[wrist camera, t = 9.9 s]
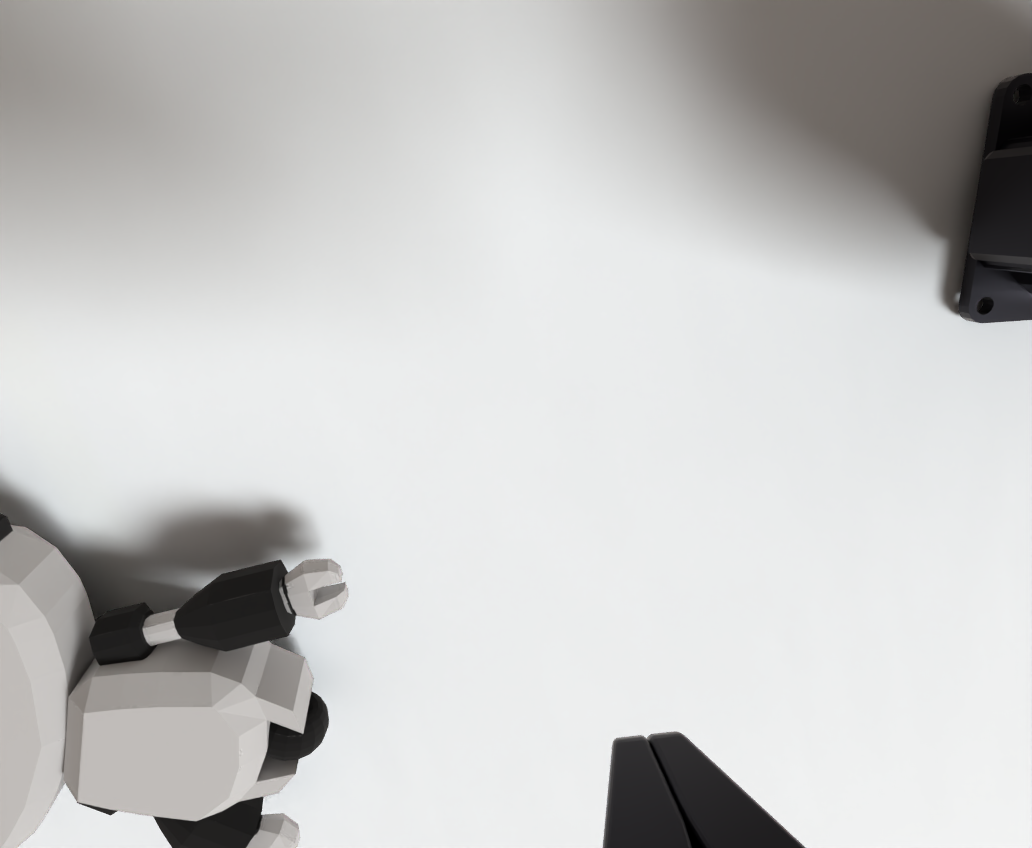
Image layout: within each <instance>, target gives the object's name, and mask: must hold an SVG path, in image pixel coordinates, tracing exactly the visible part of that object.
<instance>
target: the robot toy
mask: <svg viewBox="0 0 1032 848" xmlns="http://www.w3.org/2000/svg"><path fill="white" fill-rule="evenodd" d="M342 575H343V573H342V570H341V567H340V565H338V564H337V563H336V562H334V561H333V560H332V559H313V560H305V561H303V562H302V563H301V564H299V565H298V566H297V567H295V568H294V569H293V570H292V571H290V572H289V573H288V572H287V570H286V568H285V566H284V564H283V563H282V561H281V560H277V561H273V562H269V563H265V564H261V565H257V566H253V567H249V568H245V569H241V570H237V571H232V572H228V573H224V574H221V575H220V576H219V577H217V578H216V579H215V580H213V581H212V582H211V583H210V584H208V585H207V586H206V587H204V588H203V589H202V590H201V591H199V592H198V593H197V594H196V595H194V596H193V597H192V598H191V599H190V600H189V601H188V602H186V603H185V604H184V605H183V606H182V607H181V608H177V609H173V610H169V611H165V612H161V613H157V614H154V613H153V612H152V611H151V609H150V608H149V607H148V606H147V605H146V604H145V603H140V604H136V605H132V606H128V607H124V608H120V609H116V610H112V611H108V612H106V613H105V614H104V615H102V616H101V617H100V618H98V619H97V620H96V622H95V619H94V616H93V612H92V609H91V606H90V602H89V599H88V595H87V593H86V590H85V588H84V586H83V584H82V582H81V579H80V577H79V576H78V575H77V573H76V572H75V571H74V569H73V568H72V567H71V566H70V564H69V563H68V562H67V560H66V559H65V558H64V557H63V555H62V554H61V553H60V551H59V550H58V549H57V548H56V547H55V546H54V545H52V544H51V543H49V542H48V541H46V540H45V539H43V538H42V537H40V536H39V535H37V534H36V533H34V532H33V531H31V530H29V529H28V528H26V527H22V526H14V525H10V523H9V521H8V519H7V516H5V515H3V514H1V513H0V848H17V847H18V846H19V845H20V844H22V843H23V842H24V841H25V840H26V839H27V838H29V837H30V836H31V835H32V834H33V833H34V832H35V831H36V829H37V828H38V827H39V825H40V824H41V822H42V821H43V820H44V818H45V816H46V815H47V813H48V811H49V809H50V808H51V806H52V804H53V803H54V801H55V799H56V797H57V796H58V794H59V792H60V791H61V789H62V787H63V785H64V784H65V783H66V785H67V786H68V788H69V790H70V791H71V793H72V794H73V796H74V798H75V799H76V801H77V803H79V804H82V805H84V806H87V807H90V808H92V809H95V810H98V811H100V812H103V813H106V814H108V815H112V814H114V813H115V812H117V811H122V812H128V813H134V814H140V815H147V816H153V817H154V818H155V820H156V822H157V824H158V826H159V828H160V830H161V831H162V833H163V834H164V836H165V837H166V839H167V840H168V842H169V843H170V845H171V847H172V848H296V847H297V846H298V843H299V840H300V833H299V827H298V824H297V823H296V822H294V821H293V820H292V819H290V818H289V817H287V816H286V815H285V814H283V813H281V814H266V815H261V812H262V804H263V796H268V795H272V794H277V793H279V792H280V791H281V789H282V788H283V787H284V786H285V785H286V784H287V783H288V782H289V781H290V779H291V778H292V777H293V776H294V775H295V774H296V769H297V764H298V759H300V758H302V757H305V756H307V755H309V754H311V753H312V752H313V751H314V750H315V749H316V748H317V747H318V746H319V745H320V744H321V743H322V741H323V738H324V736H325V733H326V731H327V728H328V724H329V718H328V710H327V707H326V704H325V703H324V701H323V700H322V699H321V697H320V696H318V695H317V694H315V693H313V692H312V691H311V690H312V685H313V680H314V678H313V676H312V673H311V671H310V669H309V666H308V664H307V661H306V659H305V657H303V656H300V655H298V654H295V653H293V652H291V651H288V650H286V649H283V648H281V647H279V646H276V645H274V644H272V643H271V642H270V640H274V639H278V638H282V637H286V636H288V635H289V634H290V632H291V630H292V628H293V626H294V625H295V617H296V616H302V617H308V618H313V619H319V620H320V619H322V618H324V617H326V616H328V615H330V614H332V613H334V612H336V611H338V610H340V609H342V608H343V607H344V605H345V603H346V601H347V599H348V588H347V585H346V582H344V583H340V584H336V585H330V584H334V583H339V582H342ZM327 585H330V586H327ZM324 586H325V587H324Z"/></svg>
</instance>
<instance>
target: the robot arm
mask: <svg viewBox="0 0 1032 848" xmlns="http://www.w3.org/2000/svg"><path fill="white" fill-rule="evenodd" d="M1016 89H1017V90H1018V91H1019V99H1018V101H1017V103H1015V102H1014V100H1013V94H1014V92H1015V90H1016ZM981 299H983V305H982V307H981V309H980V310H979V311H977V305H978V302H979V301H980V300H981ZM959 313H960V315H961V317H962V318H964V319H965V320H968V321H973V322H978V323H991V322H1006V321H1020V320H1032V73H1026V74H1022V75H1018V76H1014V77H1010V78H1007V79H1005V80H1004V81H1002V82H1001V83H1000V84H999V85H998V87H997V88H996V90H995V92H994V95H993V98H992V104H991V111H990V117H989V123H988V129H987V135H986V141H985V147H984V153H983V159H982V166H981V172H980V178H979V184H978V190H977V196H976V202H975V208H974V214H973V221H972V227H971V233H970V239H969V245H968V251H967V257H966V263H965V269H964V276H963V282H962V288H961V294H960V300H959ZM603 848H805V847H804V846H803V845H802V844H801V843H800V842H799V841H798V840H797V839H796V838H794V837H793V836H792V835H791V834H790V833H789V832H788V831H787V830H786V829H785V828H784V827H783V826H782V825H780V824H779V823H778V822H777V821H776V820H775V819H774V818H773V817H772V816H771V815H770V814H769V813H768V812H766V811H765V810H764V809H763V808H762V807H761V806H760V805H759V804H758V803H757V802H756V801H755V800H753V799H752V798H751V797H750V796H749V795H748V794H747V793H746V792H745V791H744V790H743V789H742V788H741V787H739V786H738V785H737V784H736V783H735V782H734V781H733V780H732V779H731V778H730V777H729V776H728V775H726V774H725V773H724V772H723V771H722V770H721V769H720V768H719V767H718V766H717V765H716V764H715V763H714V762H712V761H711V760H710V759H709V758H708V757H707V756H706V755H705V754H704V753H703V752H702V751H701V750H700V749H698V748H697V747H696V746H695V745H694V744H693V743H692V742H691V741H690V740H689V739H688V738H687V737H685V736H684V735H683V734H681V733H679V732H666V733H657V734H651V735H649V736H648V737H647V739H646V738H645V737H644V736H642V735H639V736H630V737H621V738H616V739H615V740H614V741H613V745H612V755H611V765H610V776H609V787H608V797H607V808H606V818H605V829H604V840H603Z"/></svg>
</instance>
